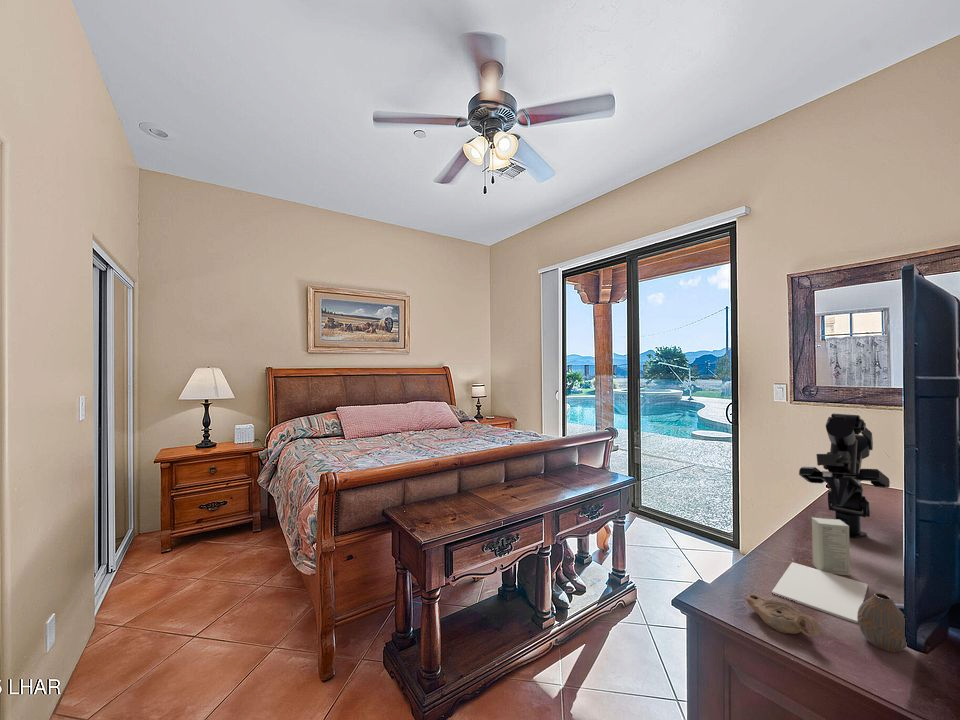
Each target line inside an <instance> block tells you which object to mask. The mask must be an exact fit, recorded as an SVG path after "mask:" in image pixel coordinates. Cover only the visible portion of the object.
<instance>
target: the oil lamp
mask: <svg viewBox="0 0 960 720" xmlns="http://www.w3.org/2000/svg"><path fill="white" fill-rule="evenodd" d="M746 602H747V604H748V605H749V607H750V608H751V609H752V610H753V611H754V612H755V613H756V614H757V615H758V616H759V617H760V618H761V620H762V621H763V622H764V623H765V625H767V626H768V627H770V628H772V629H774V630H775V629H776V630H775V631H778V632H780V631H781V632H780V633H783V632H784V633H783V634H787V633H790V634H789V635H791V634H792V635H793V634H794V635H795V634H799V633H802V634H804V635H806V636H807V637H813V638H814V637H817V636H820V633H821V628H820V624H819V623H818V621H817V620H816V619H815V618H814V617H813V616H811V615H810V614H804V613H803V612H801V611H800V610H799V609H798V608H796V607H793V606H792V605H789V604H787V603H784V602H780V601H778V600H777V599H766V598H763V596H761V595H760V594H755V593H754V594H750V593H749V594H748V595H747V596H746ZM807 622H809V624H810V626H811V628H812V631H811V630H809V629H808V628H807Z"/></svg>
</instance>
